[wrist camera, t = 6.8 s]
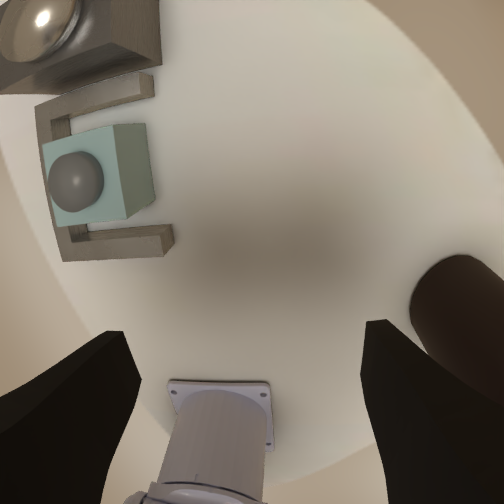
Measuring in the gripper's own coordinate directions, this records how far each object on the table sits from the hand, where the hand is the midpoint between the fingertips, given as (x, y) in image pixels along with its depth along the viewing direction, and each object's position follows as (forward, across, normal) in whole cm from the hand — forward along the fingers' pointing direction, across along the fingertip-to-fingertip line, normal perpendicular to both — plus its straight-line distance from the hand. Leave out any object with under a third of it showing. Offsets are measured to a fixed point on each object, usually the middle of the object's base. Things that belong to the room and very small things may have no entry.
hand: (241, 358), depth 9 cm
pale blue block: (+10, +8, -5) cm, 14 cm away
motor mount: (+10, +8, -8) cm, 15 cm away
